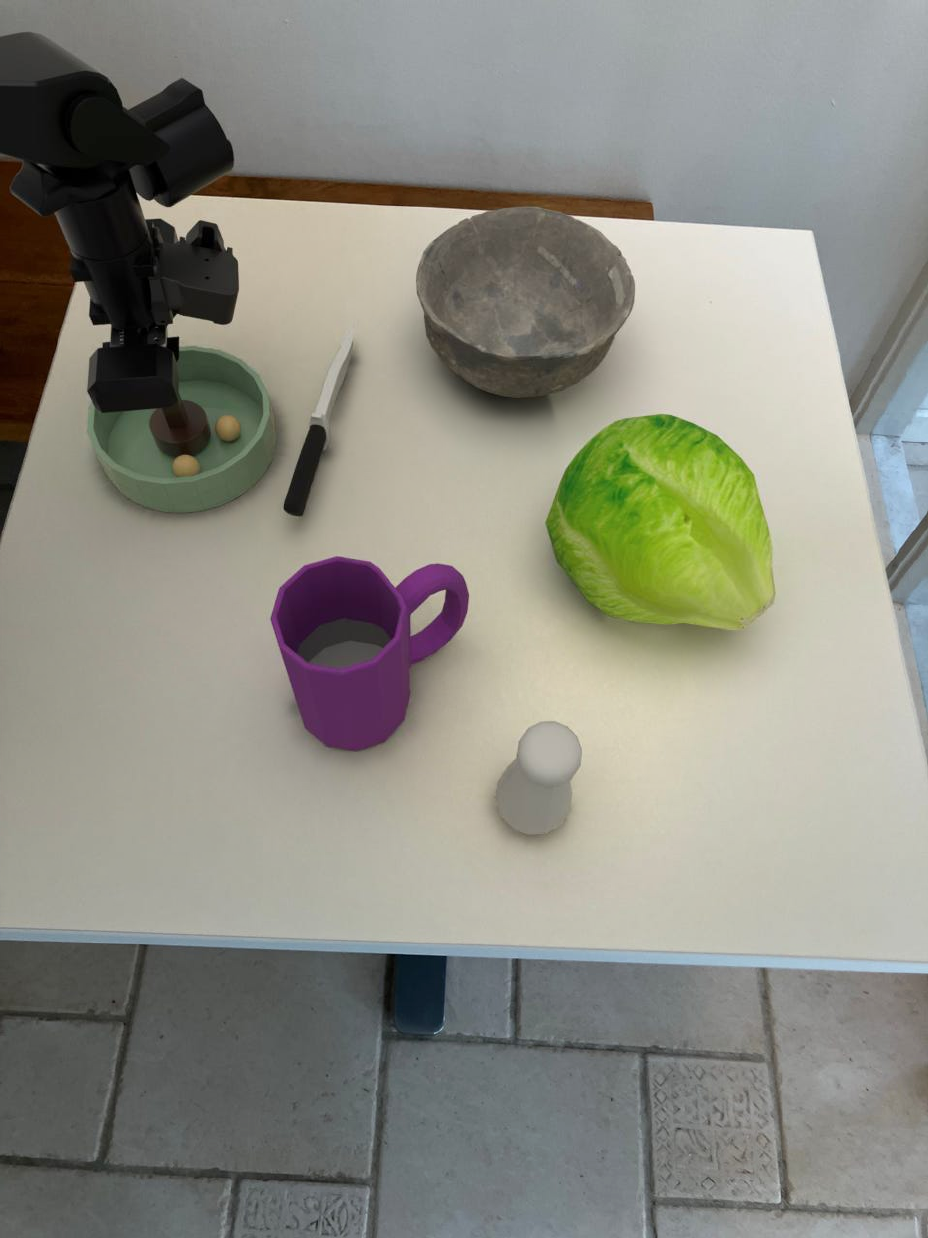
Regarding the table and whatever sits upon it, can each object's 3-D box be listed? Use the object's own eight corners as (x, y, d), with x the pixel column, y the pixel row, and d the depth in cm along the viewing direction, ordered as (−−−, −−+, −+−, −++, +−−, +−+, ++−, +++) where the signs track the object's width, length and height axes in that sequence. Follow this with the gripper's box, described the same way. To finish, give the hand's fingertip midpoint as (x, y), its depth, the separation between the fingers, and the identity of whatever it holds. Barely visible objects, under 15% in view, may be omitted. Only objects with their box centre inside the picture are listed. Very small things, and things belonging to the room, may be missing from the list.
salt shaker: (481, 824, 68) (493, 769, 56) (508, 758, 71) (524, 693, 59) (553, 854, 67) (579, 803, 56) (577, 786, 70) (607, 725, 58)
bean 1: (175, 487, 81) (169, 471, 79) (176, 466, 82) (169, 450, 80) (202, 485, 82) (196, 468, 79) (202, 464, 83) (196, 448, 81)
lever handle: (154, 459, 82) (117, 373, 72) (155, 416, 84) (120, 327, 75) (211, 454, 82) (182, 368, 73) (210, 411, 85) (183, 323, 75)
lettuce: (657, 709, 75) (705, 656, 61) (503, 543, 81) (515, 459, 66) (790, 594, 79) (865, 518, 65) (635, 442, 84) (673, 342, 70)
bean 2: (217, 427, 81) (243, 431, 82) (216, 407, 82) (243, 411, 83) (213, 444, 83) (239, 448, 84) (213, 424, 84) (238, 428, 85)
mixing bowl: (98, 521, 80) (81, 490, 76) (107, 386, 87) (92, 352, 83) (280, 504, 81) (272, 474, 77) (273, 373, 89) (265, 340, 85)
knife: (346, 338, 92) (342, 300, 87) (363, 340, 92) (360, 302, 87) (285, 536, 80) (277, 503, 75) (305, 539, 80) (298, 506, 75)
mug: (276, 688, 73) (243, 597, 59) (430, 594, 77) (432, 491, 64) (336, 776, 69) (316, 700, 56) (494, 672, 74) (509, 579, 61)
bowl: (467, 262, 98) (472, 180, 89) (642, 324, 94) (665, 244, 86) (381, 389, 89) (376, 310, 80) (572, 462, 85) (589, 388, 76)
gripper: (222, 317, 60) (260, 461, 74) (219, 146, 69) (253, 304, 83) (54, 329, 59) (124, 474, 73) (71, 154, 68) (131, 313, 82)
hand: (164, 386), depth 78 cm, fingers closed on lever handle
